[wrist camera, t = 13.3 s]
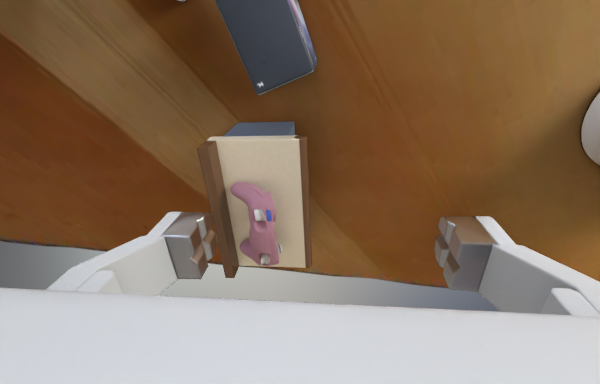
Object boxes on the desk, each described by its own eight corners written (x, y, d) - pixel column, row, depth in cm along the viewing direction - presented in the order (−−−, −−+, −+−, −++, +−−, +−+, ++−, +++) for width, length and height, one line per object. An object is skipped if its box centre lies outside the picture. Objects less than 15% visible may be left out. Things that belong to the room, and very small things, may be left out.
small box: (321, 63, 37) (317, 73, 27) (274, 84, 38) (255, 99, 29) (288, -34, 32) (269, -61, 23) (236, -6, 34) (200, -21, 25)
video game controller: (272, 239, 40) (288, 273, 34) (238, 248, 39) (250, 284, 33) (265, 173, 36) (283, 198, 30) (227, 180, 34) (238, 208, 28)
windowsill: (312, 117, 40) (304, 146, 29) (315, 227, 48) (310, 281, 38) (231, 119, 41) (196, 147, 31) (248, 226, 50) (225, 277, 39)
